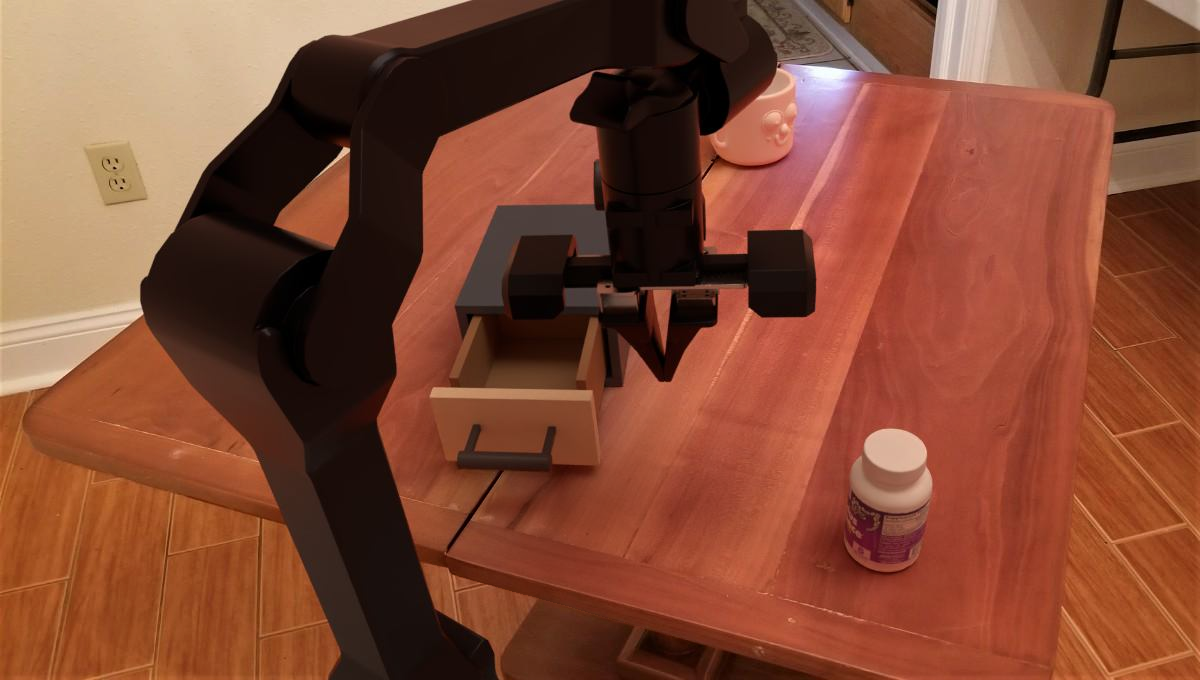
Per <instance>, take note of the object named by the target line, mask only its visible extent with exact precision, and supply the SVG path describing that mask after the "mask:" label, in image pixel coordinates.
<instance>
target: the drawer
mask: <svg viewBox="0 0 1200 680" xmlns="http://www.w3.org/2000/svg"><path fill="white" fill-rule="evenodd" d="M609 357H610V353H609V344H608V335H607V328H602V327H601V326H600V325H599V323H598V315H576V314H559V315H558V316H557V317H556V318H555V319H554V320H512V319H511V318H510V317H508V316H507V315H506V314H474V315H473V318H472V320H471V323H470V325H469V328H468V330H467V333H466V335H465V338H464V340H462V343H461V345H460V348H459V351H458V353H457V355H456V358H455V360H454V363H453V364H452V365H453V366H452V368H451V371H450V373H449V376H448V381H449V382H448V383H449V386H450V387H442V386H440V387H439V386H437V387H436V386H435V387H432V389H431V392H430V394H429V397H428V399H429V403H430V406H431V410H432V413H433V416H434V420H435V424H436V428H437V431H438V435H439V438H440V443H441V446H442V448H443V452H444V457H445V460H446V461H449V462H456V466H457V469H458V470H466V471H467V470H468V471H469V470H471V471H472V470H473V471H502V472H529V473H551V471H552V469H553V465H571V466H572V465H573V466H574V465H575V466H600V463H601V457H602V451H601V443H600V437H599V436H600V435H599V434H600V433H599V429H598V428H599V427H598V418H599V413H600V407H601V402H602V397H603V392H604V387H605V386H604V382H605V377H606V372H607V367H608V362H609Z"/></svg>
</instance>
